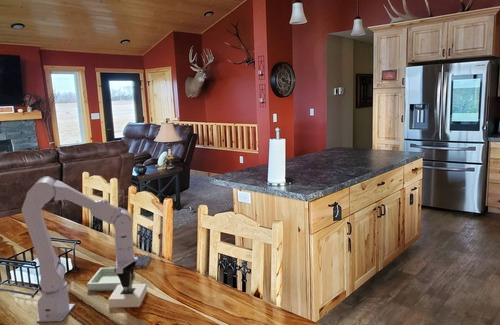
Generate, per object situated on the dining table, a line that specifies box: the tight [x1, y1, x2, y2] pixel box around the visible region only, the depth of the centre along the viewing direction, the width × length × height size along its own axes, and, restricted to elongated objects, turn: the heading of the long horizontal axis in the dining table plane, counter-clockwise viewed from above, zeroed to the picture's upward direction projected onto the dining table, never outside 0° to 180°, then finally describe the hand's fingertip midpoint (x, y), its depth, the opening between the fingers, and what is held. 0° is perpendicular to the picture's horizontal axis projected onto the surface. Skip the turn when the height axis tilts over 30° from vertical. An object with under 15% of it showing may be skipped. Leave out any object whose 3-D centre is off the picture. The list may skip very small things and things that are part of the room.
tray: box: [86, 266, 135, 292], centre depth 145 cm, size 13×13×3 cm
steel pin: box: [123, 274, 133, 294], centre depth 132 cm, size 3×3×8 cm
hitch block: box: [107, 283, 148, 309], centre depth 132 cm, size 10×10×3 cm
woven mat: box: [134, 254, 153, 270], centre depth 161 cm, size 10×11×2 cm
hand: (127, 284), depth 132 cm, fingers closed on steel pin, 3 cm apart
